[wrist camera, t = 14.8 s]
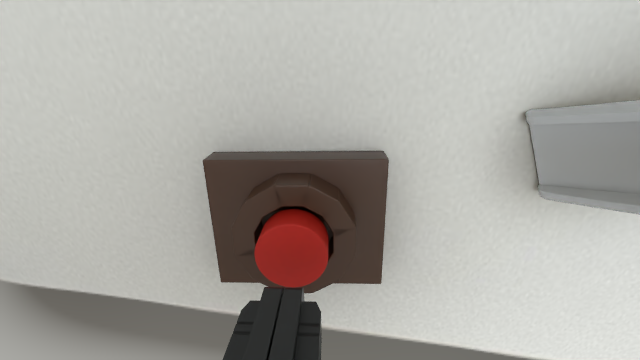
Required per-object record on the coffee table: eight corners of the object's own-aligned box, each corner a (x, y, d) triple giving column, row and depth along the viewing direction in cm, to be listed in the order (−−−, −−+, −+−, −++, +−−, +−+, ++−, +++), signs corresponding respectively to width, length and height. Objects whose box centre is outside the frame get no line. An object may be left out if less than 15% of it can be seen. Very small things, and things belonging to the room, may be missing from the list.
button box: (229, 266, 21) (210, 303, 18) (213, 152, 19) (188, 170, 15) (377, 267, 21) (386, 305, 18) (383, 150, 18) (395, 169, 15)
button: (264, 266, 18) (257, 287, 16) (258, 208, 16) (250, 224, 15) (328, 267, 17) (328, 288, 16) (328, 208, 16) (328, 224, 15)
